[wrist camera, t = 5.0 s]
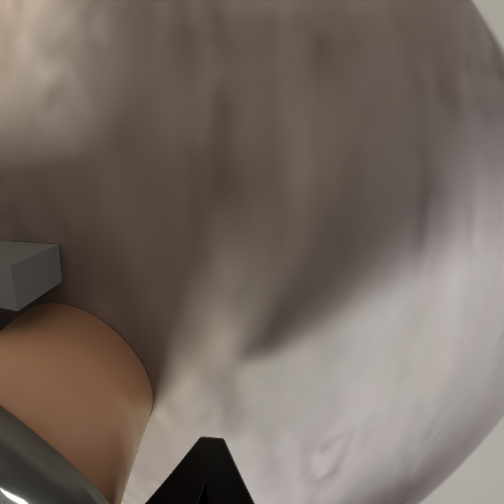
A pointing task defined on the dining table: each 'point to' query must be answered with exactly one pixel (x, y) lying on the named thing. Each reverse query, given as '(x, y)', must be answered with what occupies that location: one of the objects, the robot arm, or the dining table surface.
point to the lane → (27, 272)
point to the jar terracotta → (68, 408)
